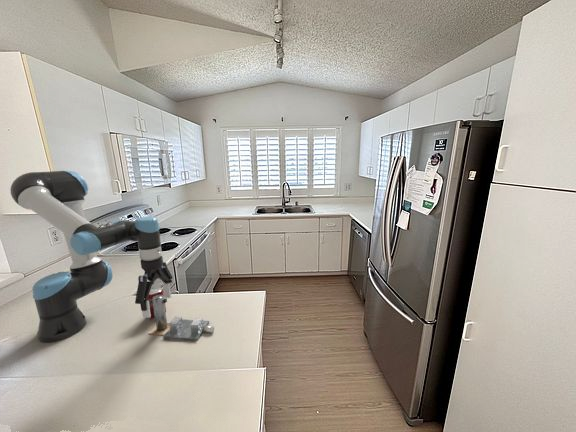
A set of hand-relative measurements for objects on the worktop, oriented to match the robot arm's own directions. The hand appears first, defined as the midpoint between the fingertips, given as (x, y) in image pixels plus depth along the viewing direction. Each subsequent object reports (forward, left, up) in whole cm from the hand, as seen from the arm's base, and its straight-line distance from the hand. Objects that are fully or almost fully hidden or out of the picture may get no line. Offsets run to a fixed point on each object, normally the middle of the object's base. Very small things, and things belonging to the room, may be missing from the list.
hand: (157, 306), depth 102 cm
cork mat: (0, 0, -10) cm, 10 cm away
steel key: (0, 0, -10) cm, 10 cm away
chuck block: (+13, 0, -10) cm, 17 cm away
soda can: (-8, +9, -10) cm, 16 cm away
